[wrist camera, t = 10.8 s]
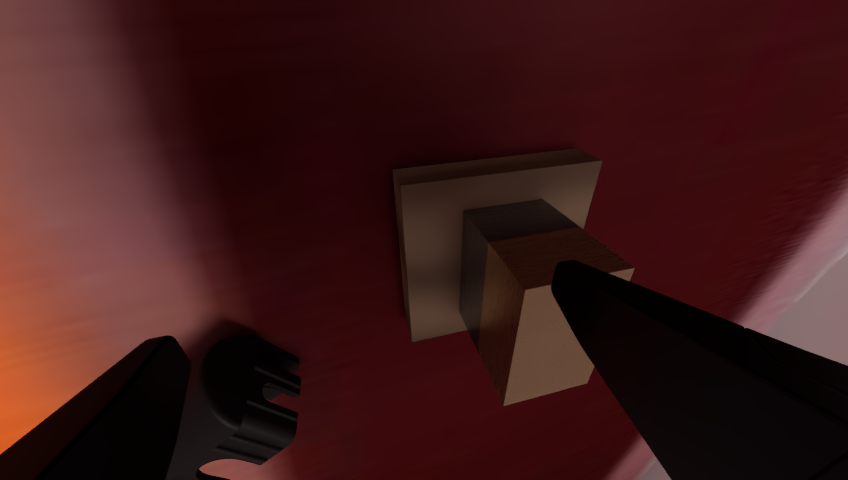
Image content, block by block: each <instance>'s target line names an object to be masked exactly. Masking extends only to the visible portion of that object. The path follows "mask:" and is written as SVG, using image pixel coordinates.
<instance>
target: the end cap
mask: <svg viewBox="0 0 848 480" xmlns="http://www.w3.org/2000/svg"><path fill="white" fill-rule="evenodd" d="M190 365H191V370H190V376H189V381H188V387H187V392H186V397H185V402H184V407H183V412H182V418H181V423H180V428H179V433H178V437H177V442H176V446H175V449H174V453H173V456H172V460H171V463H170V466H169V469H168V472H167V476H166V479H165V480H230V479H226V478H221V477H216V476H211V475H207V474H205V473H202V472H201V471H200V470H199V468H200V467H201V466H203V465H204V464H207V463H209V462H212V461H215V460H220V459H238V460H242V461H246V462H250V463H254V464H258V465H261V464H263V463H264V462H266V461H267V460H268V459H270V458H271V457H273V456H274V455H276V454H277V453H279V452H280V451H281V450H283V449H284V448H286V447H287V446H288V445H289V444H290V443H291V442H292V441H293V439H294V437H295V434H296V430H297V418H298V413H297V412H294V411H292V410H289V409H287V408H284V407H282V406H279V405H276V404H274V403H271V402H269V401H267V400H266V399H269V400H272V399H274V398H275V397H276V396H278V395H279V394H280V393H284V394H287V395H289V396H292V397H294V398H296V397H297V396H299V395H300V384H301V378H300V377H299V376H297V375H294V374H292V373H293V372H294V371H296V370H297V369H298V367H299V359H298V358H297V357H296V356H294V355H292V354H290V353H288V352H286V351H284V350H282V349H280V348H278V347H276V346H274V345H273V344H271V343H269V342H267V341H265V340H263V339H261V338H258V337H255V336H251V335H246V336H232V337H227V338H224V339H222V340H219V341H218V342H216V343H215V344H213V345H212V346H211V347H209V348H208V349H207V350H206V351H204V352H203V353H202V354H201V355H199V356H198V357H197V358H196V359H194V360H193V361H192V362H191V363H190ZM265 398H266V399H265Z"/></svg>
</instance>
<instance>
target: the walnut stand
mask: <svg viewBox="0 0 848 480" xmlns="http://www.w3.org/2000/svg"><path fill="white" fill-rule="evenodd" d="M601 164H602V160H600V159H598V158H595V157H593V156H591V155H589V154H586V153H584V152H582V151H580V150H577V149H567V150H558V151H550V152H541V153H532V154H523V155H515V156H506V157H497V158H489V159H480V160H471V161H462V162H454V163H445V164H436V165H427V166H419V167H410V168H401V169H393V180H394V191H395V203H396V214H397V226H398V237H399V249H400V261H401V272H402V284H403V295H404V307H405V317H406V321H407V325H408V328H409V332H410V336H411V340H412V342H414V341H419V340H423V339H428V338H432V337H437V336H441V335H446V334H450V333H455V332H459V331H464V330H467V328H466V325H465V323H464V321H463V319H462V317H461V315H460V313H459V299H460V275H461V250H462V226H463V210H468V209H475V208H482V207H489V206H495V205H502V204H509V203H516V202H523V201H530V200H537V199H544V200H545V201H546V202H548V203H549V204H550V205H552V206H553V207H554V208H556V209H557V210H558V211H560V212H561V213H562V214H564V215H565V216H566V217H568V218H569V219H570V220H572V221H573V222H574V223H576V224H577V225H578V226H580V227H581V228H582V229H583V228H584V225H585V221H586V217H587V214H588V210H589V207H590V203H591V200H592V196H593V192H594V189H595V185H596V182H597V178H598V175H599V171H600V167H601Z"/></svg>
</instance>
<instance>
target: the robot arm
mask: <svg viewBox="0 0 848 480" xmlns="http://www.w3.org/2000/svg"><path fill="white" fill-rule="evenodd" d="M551 291H552V294H553V296H554V298H555V300H556V302H557V304H558V306H559V307H560V309H561V311H562V313H563V315H564V317H565V319H566V320H567V322H568V324H569V326H570V328H571V330H572V331H573V333H574V335H575V337H576V339H577V340H578V342H579V344H580V345H581V347H582V348H583V350H584V352H585V353H586V355H587V356H588V357H589V359H590V360H591V362H592V363H593V365H594V366H595V368H596V369H597V371H598V372H599V374H600V375H601V377H602V378H603V380H604V381H605V383H606V384H607V385H608V387H609V388H610V390H611V391H612V393H613V394H614V396H615V397H616V399H617V400H618V402H619V403H620V405H621V406H622V408H623V409H624V410H625V412H626V413H627V415H628V416H629V418H630V419H631V421H632V422H633V424H634V425H635V427H636V428H637V430H638V431H639V433H640V434H641V436H642V437H643V438H644V440H645V441H646V443H647V444H648V446H649V447H650V449H651V450H652V452H653V453H654V455H655V456H656V458H657V459H658V461H659V462H660V463H661V465H662V466H663V468H664V469H665V471H666V472H667V474H668V475H669V477H670V478H671V480H848V366H847V365H844V364H841V363H839V362H836V361H833V360H830V359H827V358H825V357H822V356H819V355H816V354H814V353H811V352H808V351H805V350H803V349H800V348H797V347H795V346H792V345H790V344H787V343H784V342H782V341H779V340H777V339H774V338H771V337H769V336H766V335H764V334H761V333H759V332H756V331H754V330H751V329H749V328H744V327H743V326H741V325H738V324H736V323H733V322H731V321H728V320H726V319H723V318H721V317H718V316H716V315H713V314H711V313H708V312H706V311H703V310H700V309H698V308H695V307H693V306H690V305H688V304H685V303H683V302H680V301H678V300H675V299H673V298H670V297H668V296H665V295H663V294H660V293H657V292H655V291H652V290H650V289H647V288H645V287H642V286H640V285H637V284H635V283H632V282H630V281H627V280H625V279H622V278H620V277H617V276H614V275H612V274H609V273H607V272H604V271H602V270H599V269H597V268H594V267H592V266H589V265H587V264H584V263H582V262H579V261H577V260H566V261H561V262H558V263H557V265H556V267H555V271H554V275H553V279H552V283H551ZM190 370H191V365H190V361H189V358H188V357H187V355H186V354H185V352H184V351H183V349H182V348H181V346H180V345H179V343H178V342H177V341H176V339H175V338H174V337H172V336H161V337H156V338H151V339H148V340H146V341H144V342H143V343H141V344H140V345H139V346H138V347H136V348H135V349H134V350H133V351H131V352H130V353H129V354H128V355H126V356H125V357H124V358H122V359H121V360H120V361H119V362H117V363H116V364H115V365H114V366H112V367H111V368H110V369H108V370H107V371H106V372H105V373H103V374H102V375H101V376H100V377H98V378H97V379H96V380H94V381H93V382H92V383H91V384H89V385H88V386H87V387H86V388H84V389H83V390H82V391H80V392H79V393H78V394H77V395H75V396H74V397H73V398H72V399H70V400H69V401H68V402H67V403H65V404H64V405H63V406H61V407H60V408H59V409H58V410H56V411H55V412H54V413H53V414H51V415H50V416H49V417H47V418H46V419H45V420H44V421H42V422H41V423H40V424H39V425H37V426H36V427H35V428H33V429H32V430H31V431H30V432H28V433H27V434H26V435H25V436H23V437H22V438H21V439H19V440H18V441H17V442H16V443H14V444H13V445H12V446H11V447H9V448H8V449H7V450H6V451H4V452H3V453H2V454H0V480H165V479H166V476H167V472H168V469H169V466H170V463H171V460H172V456H173V453H174V449H175V446H176V442H177V437H178V433H179V428H180V423H181V418H182V412H183V407H184V402H185V397H186V392H187V387H188V381H189V376H190Z"/></svg>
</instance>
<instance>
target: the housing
mask: <svg viewBox="0 0 848 480" xmlns="http://www.w3.org/2000/svg"><path fill="white" fill-rule="evenodd" d="M566 260H577V261H579V262H582V263H584V264H587V265H589V266H592V267H594V268H597V269H599V270H602V271H604V272H607V273H609V274H612V275H614V276H617V277H620V278H622V279H625V280H627V281H630V279H631V276H632V274H633V271H634V269H635V268H634V267H633V266H632V265H630V264H629V263H628V262H626V261H625V260H624V259H622V258H621V257H620V256H618V255H617V254H616V253H614V252H613V251H612V250H610V249H609V248H608V247H606V246H605V245H604V244H602V243H601V242H600V241H598V240H597V239H596V238H594V237H593V236H592V235H590V234H589V233H588V232H586V231H585V230H584V229H582V228H581V227H580V226H578V225H577V224H576V223H574V222H573V221H572V220H570V219H569V218H568V217H566V216H565V215H564V214H562V213H561V212H560V211H558V210H557V209H556V208H554V207H553V206H552V205H550V204H549V203H548V202H546V201H545V200H544V199H537V200H530V201H523V202H516V203H509V204H502V205H495V206H489V207H482V208H475V209H468V210H463V226H462V250H461V275H460V299H459V313H460V315H461V317H462V319H463V321H464V323H465V325H466V328H467V330H468V332H469V334H470V336H471V338H472V340H473V342H474V345H475V347H476V349H477V351H478V353H479V355H480V357H481V359H482V362H483V364H484V366H485V368H486V370H487V372H488V374H489V376H490V378H491V381H492V383H493V385H494V387H495V389H496V391H497V393H498V395H499V398H500V400H501V402H502V404H503V406H505V405H509V404H513V403H516V402H520V401H524V400H527V399H531V398H535V397H538V396H542V395H546V394H549V393H553V392H557V391H560V390H564V389H567V388H571V387H575V386H578V385H582V384H586V383H587V382H588V380H589V378H590V375H591V373H592V370H593V368H594V365H593V363H592V362H591V360H590V359H589V357H588V356H587V355H586V353H585V352H584V350H583V348H582V347H581V345H580V344H579V342H578V340H577V339H576V337H575V335H574V333H573V331H572V330H571V328H570V326H569V324H568V322H567V320H566V319H565V317H564V315H563V313H562V311H561V309H560V307H559V306H558V304H557V302H556V300H555V298H554V296H553V294H552V291H551V283H552V279H553V275H554V271H555V267H556V265H557V263H558V262H561V261H566Z"/></svg>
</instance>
